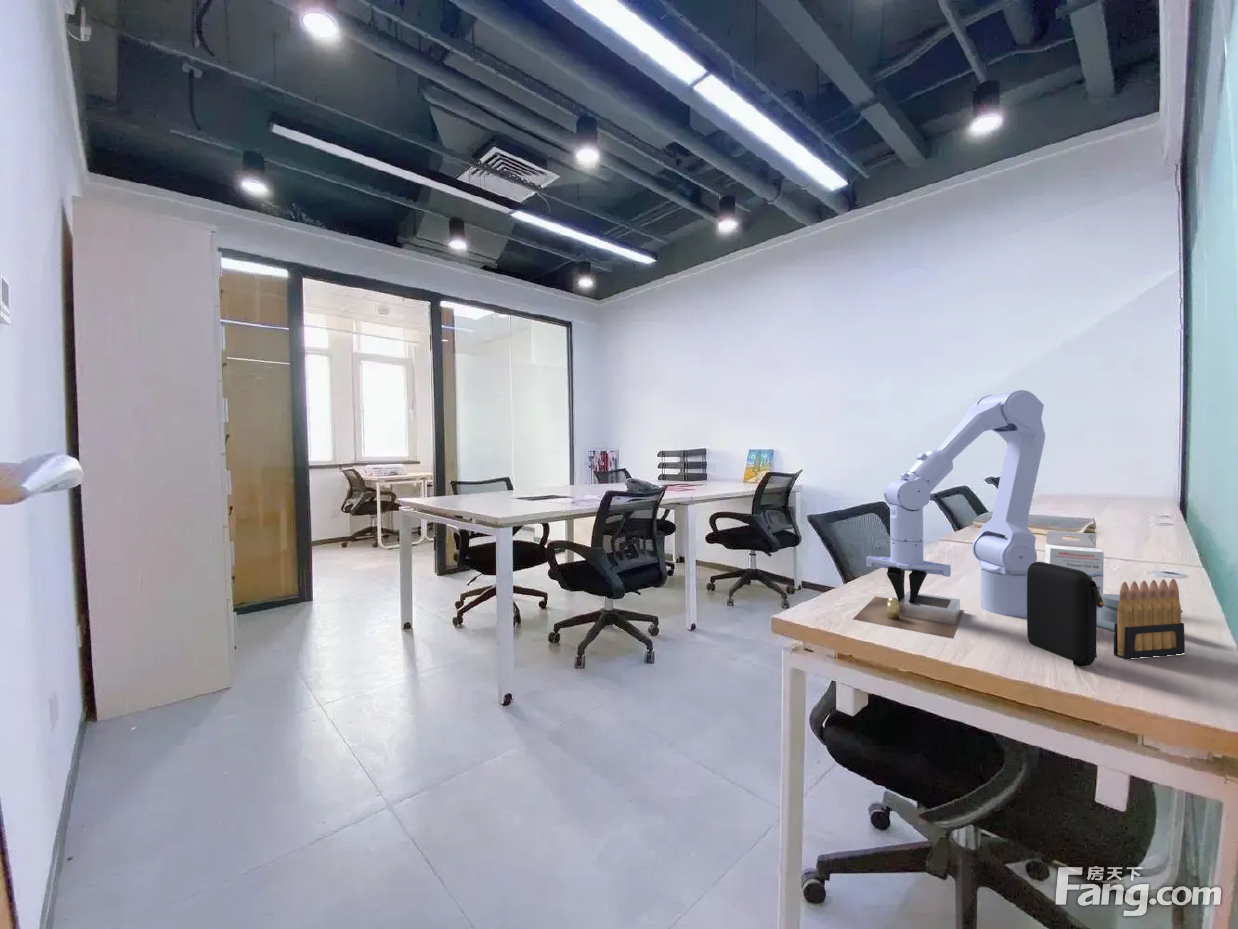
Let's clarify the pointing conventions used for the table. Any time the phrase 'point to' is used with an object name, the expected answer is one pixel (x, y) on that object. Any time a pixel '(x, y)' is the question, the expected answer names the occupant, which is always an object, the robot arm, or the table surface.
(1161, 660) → the table surface
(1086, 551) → the ink cartridge box
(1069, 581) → the carrying case or bag
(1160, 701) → the table surface
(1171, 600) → the ammunition clip
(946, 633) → the board
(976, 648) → the table surface
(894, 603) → the keeper post
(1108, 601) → the shower valve
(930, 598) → the steel link
